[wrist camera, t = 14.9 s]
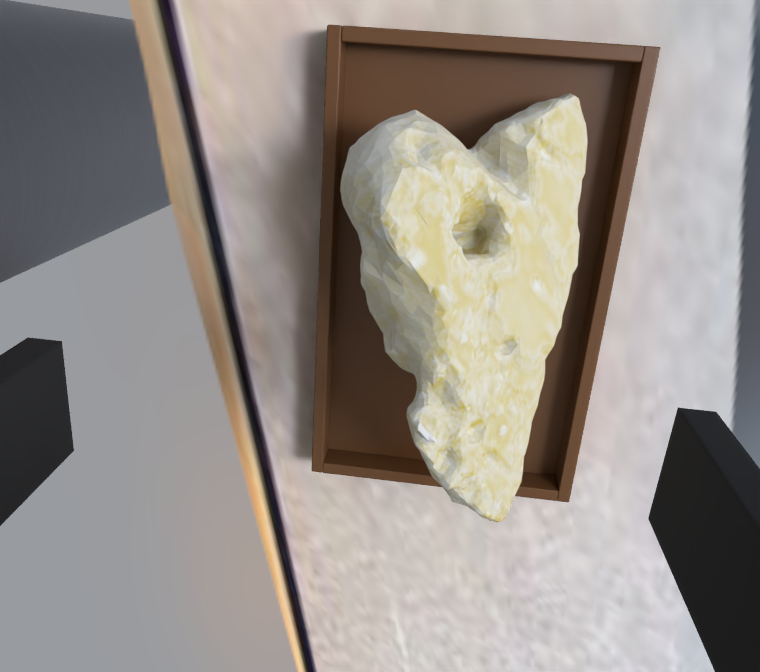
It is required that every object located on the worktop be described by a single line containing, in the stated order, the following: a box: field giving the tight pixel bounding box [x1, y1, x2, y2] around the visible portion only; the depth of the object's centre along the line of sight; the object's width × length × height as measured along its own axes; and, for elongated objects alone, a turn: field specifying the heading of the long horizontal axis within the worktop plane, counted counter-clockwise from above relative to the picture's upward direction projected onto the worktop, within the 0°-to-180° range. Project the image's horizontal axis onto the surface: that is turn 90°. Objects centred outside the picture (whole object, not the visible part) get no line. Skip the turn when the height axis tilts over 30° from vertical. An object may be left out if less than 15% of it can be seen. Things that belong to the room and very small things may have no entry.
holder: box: [312, 25, 660, 502], centre depth 32 cm, size 13×21×2 cm, turn 176°
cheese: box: [340, 93, 588, 522], centre depth 29 cm, size 15×7×15 cm
